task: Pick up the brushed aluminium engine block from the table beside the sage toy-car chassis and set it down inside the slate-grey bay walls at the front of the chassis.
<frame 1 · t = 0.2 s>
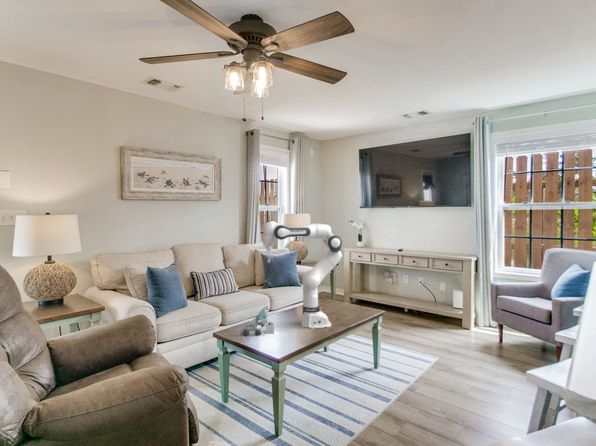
hand: (269, 261, 245), 47 cm above the table, tool pointing down, fingers open, 8 cm apart
toy figure: (262, 325, 246), on the table
chassis: (252, 332, 230), on the table
engine block: (270, 332, 231), on the table
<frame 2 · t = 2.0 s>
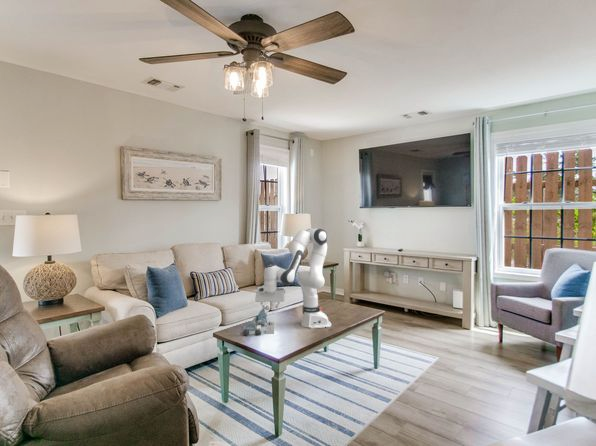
hand: (269, 308, 231), 17 cm above the table, tool pointing down, fingers open, 8 cm apart
nothing on the table moved.
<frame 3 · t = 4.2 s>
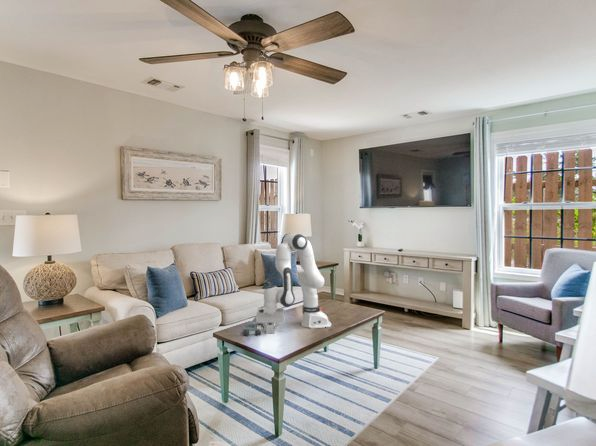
hand: (270, 328, 231), 3 cm above the table, tool pointing down, fingers closed on engine block, 5 cm apart
engine block: (270, 332, 231), on the table, touching gripper
everything else where it was.
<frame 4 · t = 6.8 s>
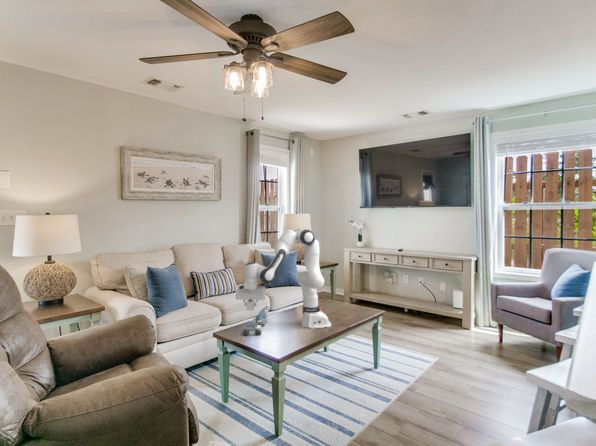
hand: (250, 305, 230), 19 cm above the table, tool pointing down, fingers closed on engine block, 5 cm apart
engine block: (250, 309, 230), point 16 cm above the table, touching gripper
everything else where it was.
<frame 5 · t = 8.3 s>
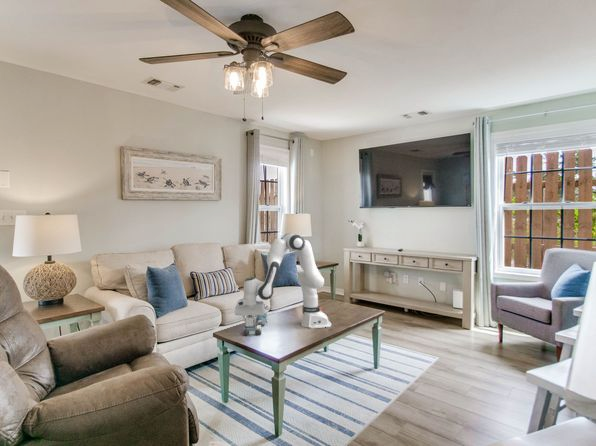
hand: (249, 321, 230), 8 cm above the table, tool pointing down, fingers closed on engine block, 5 cm apart
engine block: (249, 325, 230), point 5 cm above the table, touching gripper
everything else where it was.
when the fingers open (6 cm above the table, at t = 9.4 s): engine block stays where it is, resting on chassis.
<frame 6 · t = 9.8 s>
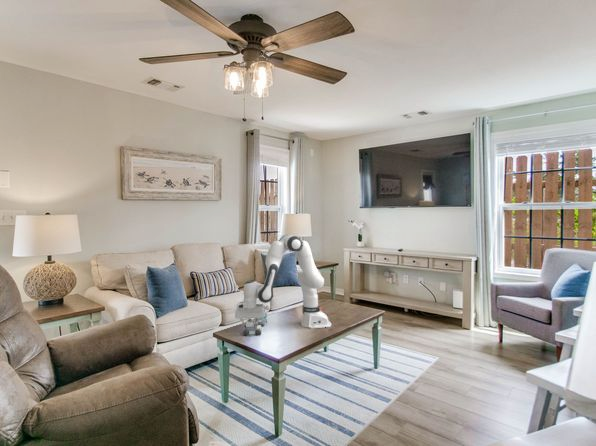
hand: (250, 324, 230), 6 cm above the table, tool pointing down, fingers open, 8 cm apart
engine block: (250, 329, 230), point 2 cm above the table, touching chassis
everything else where it was.
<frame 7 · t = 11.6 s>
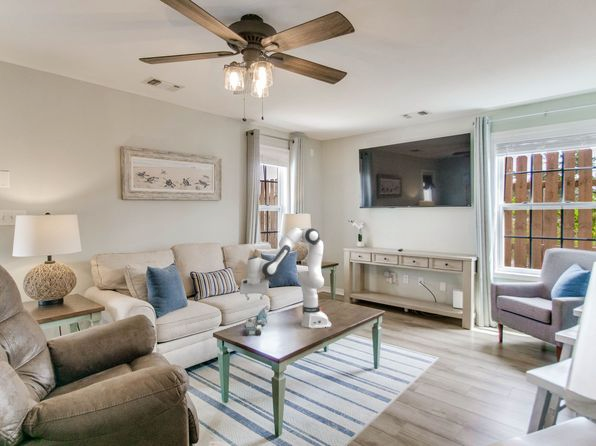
hand: (254, 299, 233), 22 cm above the table, tool pointing down, fingers open, 8 cm apart
nothing on the table moved.
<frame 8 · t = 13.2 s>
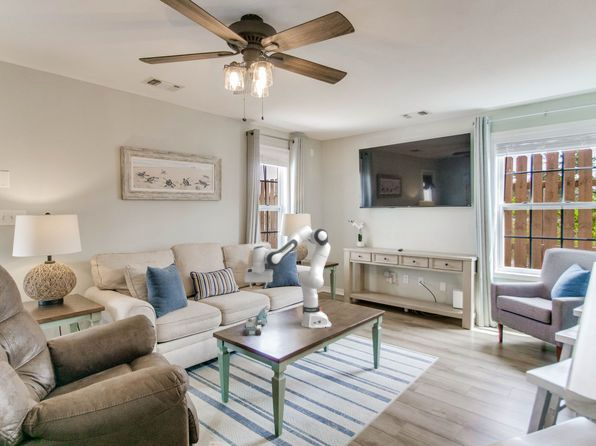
hand: (258, 288, 237), 29 cm above the table, tool pointing down, fingers open, 8 cm apart
nothing on the table moved.
at the end: engine block 0.1 cm from the target spot on the chassis, point 2.5 cm above the chassis's base; engine block tilted 0°; the gripper is holding nothing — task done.
